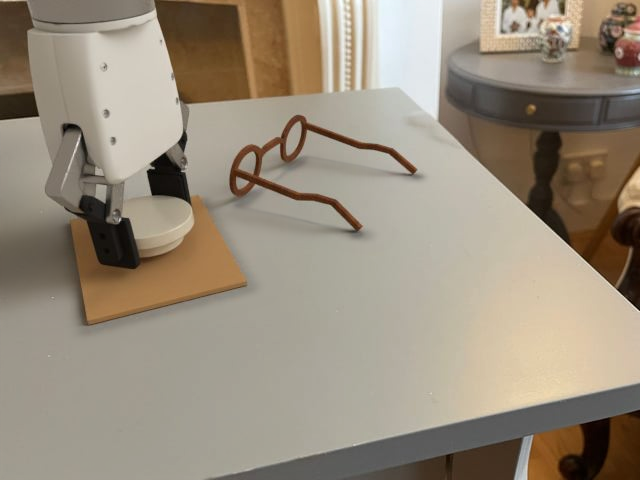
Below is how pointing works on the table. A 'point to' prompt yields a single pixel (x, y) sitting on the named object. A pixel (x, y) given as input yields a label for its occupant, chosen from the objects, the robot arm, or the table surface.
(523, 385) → the table surface
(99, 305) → the mat
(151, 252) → the top plate
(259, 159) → the glasses
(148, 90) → the robot arm
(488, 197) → the table surface
